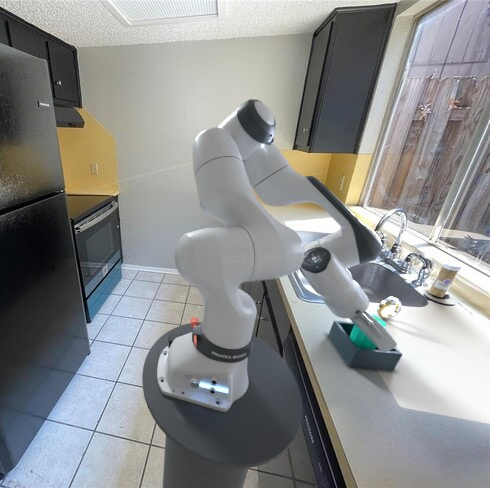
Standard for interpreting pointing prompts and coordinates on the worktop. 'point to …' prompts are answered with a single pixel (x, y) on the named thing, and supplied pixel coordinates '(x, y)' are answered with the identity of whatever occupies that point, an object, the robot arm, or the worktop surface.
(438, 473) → the worktop surface
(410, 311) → the worktop surface
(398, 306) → the ring
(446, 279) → the sprinkles bottle
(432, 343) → the worktop surface
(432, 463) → the worktop surface
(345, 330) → the bin
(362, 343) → the candle
